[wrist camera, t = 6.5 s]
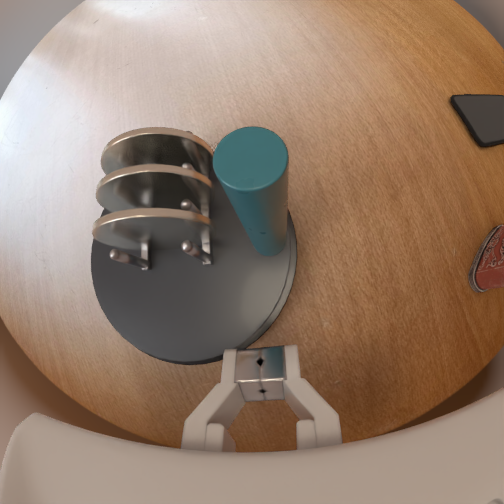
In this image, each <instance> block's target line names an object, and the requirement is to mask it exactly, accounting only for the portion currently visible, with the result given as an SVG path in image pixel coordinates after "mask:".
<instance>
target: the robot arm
mask: <svg viewBox="0 0 504 504" xmlns="http://www.w3.org/2000/svg"><path fill="white" fill-rule="evenodd" d="M264 400H285V401H286V402H287V404H288V405H289V406H290V408H291V409H292V410H293V412H294V413H295V414H296V416H297V417H298V418H299V421H298V422H297V423H296V444H297V450H290V451H276V452H235V445H236V443H235V441H234V440H233V438H232V437H231V436H230V434H229V433H228V431H227V430H228V428H229V427H230V425H231V424H232V422H233V421H234V419H235V418H236V416H237V415H238V413H239V412H240V410H241V409H242V407H243V406H244V404H245V402H250V401H264ZM0 504H504V387H503V388H501V389H500V390H497V391H496V392H494V393H492V394H490V395H488V396H486V397H484V398H482V399H480V400H478V401H476V402H474V403H472V404H470V405H467V406H465V407H463V408H461V409H458V410H456V411H454V412H451V413H449V414H446V415H444V416H441V417H439V418H436V419H433V420H431V421H428V422H425V423H422V424H419V425H416V426H413V427H410V428H406V429H404V430H400V431H396V432H393V433H389V434H386V435H381V436H377V437H373V438H369V439H364V440H360V441H355V442H350V443H344V444H343V443H342V435H341V428H340V421H339V415H338V414H337V412H336V411H335V410H334V409H333V408H332V407H331V406H330V405H329V404H328V403H327V402H326V401H325V400H324V399H323V398H322V397H321V395H320V394H319V393H318V392H317V391H316V390H315V389H314V388H313V387H312V386H311V385H310V384H309V383H308V381H307V380H306V379H305V378H301V374H300V365H299V356H298V347H297V344H295V345H287V346H285V348H284V345H283V346H273V347H262V348H251V349H226V350H225V351H224V354H223V364H222V374H221V383H217V384H216V385H215V386H214V388H213V389H212V390H211V391H210V392H209V394H208V395H207V396H206V397H205V398H204V399H203V401H202V402H201V403H200V404H199V405H198V406H197V408H196V409H195V410H194V411H193V412H192V413H191V414H190V416H189V417H188V418H187V419H186V420H185V423H184V429H183V436H182V443H181V449H177V448H170V447H162V446H155V445H150V444H144V443H139V442H133V441H129V440H124V439H119V438H115V437H111V436H107V435H103V434H100V433H96V432H92V431H89V430H85V429H82V428H79V427H76V426H73V425H70V424H67V423H64V422H61V421H58V420H56V419H53V418H50V417H48V416H45V415H43V414H40V413H34V414H32V415H30V416H29V417H28V418H26V419H25V420H24V421H23V422H21V423H20V424H19V425H18V426H17V427H16V429H15V430H14V432H13V434H12V436H11V439H10V441H9V444H8V447H7V450H6V453H5V457H4V460H3V463H2V467H1V471H0Z"/></svg>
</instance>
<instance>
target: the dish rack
mask: <svg viewBox="0 0 504 504" xmlns="http://www.w3.org/2000/svg"><path fill="white" fill-rule="evenodd" d="M288 163H289V156H288V150H287V147H286V145H285V143H284V142H283V140H282V139H281V138H280V137H279V136H278V135H277V134H275V133H274V132H272V131H270V130H268V129H265V128H262V127H244V128H240V129H237V130H235V131H233V132H231V133H229V134H228V135H226V136H225V137H224V138H223V139H222V140H221V141H220V142H219V144H218V145H217V147H216V149H215V152H213V151H212V149H211V147H210V146H209V145H208V144H207V143H206V142H205V141H204V140H202V139H201V138H199V137H197V136H196V135H193V133H192V132H190V131H186V132H185V131H182V130H178V129H173V128H165V127H149V128H141V129H136V130H132V131H129V132H126V133H123V134H121V135H119V136H117V137H116V138H114V139H112V140H111V141H110V142H109V143H108V144H107V145H106V147H105V148H104V150H103V152H102V156H101V167H102V169H103V171H104V173H105V174H106V176H105V177H104V178H102V179H101V181H100V182H99V183H98V185H97V189H96V199H97V201H98V203H99V204H100V205H101V206H102V207H104V210H103V212H102V214H101V217H100V218H99V219H97V220H96V221H95V222H94V224H93V229H92V234H93V237H94V239H93V244H92V253H91V272H92V279H93V285H94V289H95V292H96V296H97V298H98V301H99V303H100V306H101V308H102V310H103V312H104V313H105V315H106V317H107V319H108V320H109V321H110V323H111V324H112V325H113V327H114V328H115V329H116V330H117V331H118V332H119V333H120V334H121V336H122V337H123V338H125V339H126V340H127V341H128V342H130V343H131V344H132V345H134V346H135V347H137V348H139V349H140V350H142V351H144V352H146V353H148V354H151V355H153V356H155V357H158V358H162V359H167V360H171V361H182V362H187V361H200V360H205V359H209V358H213V357H216V356H219V355H221V354H224V351H225V350H226V349H234V348H236V347H238V346H239V345H241V344H242V343H243V342H245V341H246V340H247V339H249V338H250V337H251V336H252V335H253V334H254V333H255V332H256V331H257V330H258V329H259V328H260V327H261V326H262V325H263V324H264V323H265V322H266V320H267V319H268V318H269V316H270V315H271V314H272V312H273V311H274V309H275V307H276V305H277V303H278V302H279V300H280V298H281V295H282V292H283V290H284V287H285V285H286V281H287V276H288V272H289V266H290V257H291V244H290V234H289V228H288V223H287V204H288Z"/></svg>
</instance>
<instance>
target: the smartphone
mask: <svg viewBox="0 0 504 504" xmlns="http://www.w3.org/2000/svg"><path fill="white" fill-rule="evenodd" d="M451 103H452V105H453V106H454V108H455V109H456V110H457V112H458V113H459V115H460V116H461V118H462V119H463V121H464V123H465V124H466V126H467V127H468V129H469V131H470V132H471V134H472V135H473V137H474V139H475V140H476V142H477V143H478V144H479V145H480V146H482V147H486V146H492V145H497V144H502V143H504V96H503V95H480V94H473V95H471V94H464V95H452V96H451Z"/></svg>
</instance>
